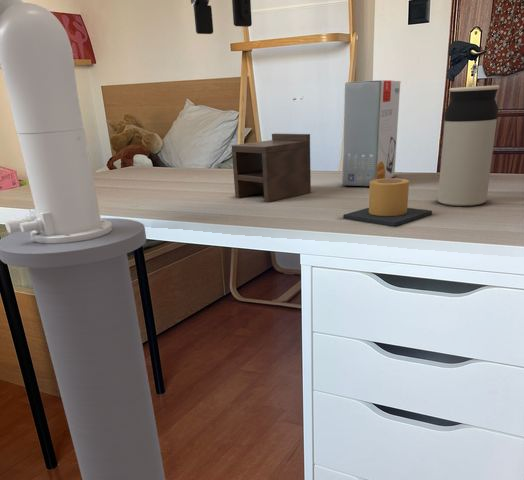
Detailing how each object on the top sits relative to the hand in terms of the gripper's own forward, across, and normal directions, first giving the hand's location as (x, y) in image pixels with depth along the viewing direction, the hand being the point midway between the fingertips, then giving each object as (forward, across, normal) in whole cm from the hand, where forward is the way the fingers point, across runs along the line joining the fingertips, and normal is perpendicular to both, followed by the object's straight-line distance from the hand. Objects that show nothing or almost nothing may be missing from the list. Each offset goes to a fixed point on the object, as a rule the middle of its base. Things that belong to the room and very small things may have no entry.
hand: (223, 30), depth 84 cm
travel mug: (+28, +30, +26) cm, 49 cm away
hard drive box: (+28, +2, +37) cm, 47 cm away
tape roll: (+28, +26, +10) cm, 39 cm away
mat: (+28, +26, +10) cm, 40 cm away
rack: (+28, -5, +14) cm, 32 cm away
